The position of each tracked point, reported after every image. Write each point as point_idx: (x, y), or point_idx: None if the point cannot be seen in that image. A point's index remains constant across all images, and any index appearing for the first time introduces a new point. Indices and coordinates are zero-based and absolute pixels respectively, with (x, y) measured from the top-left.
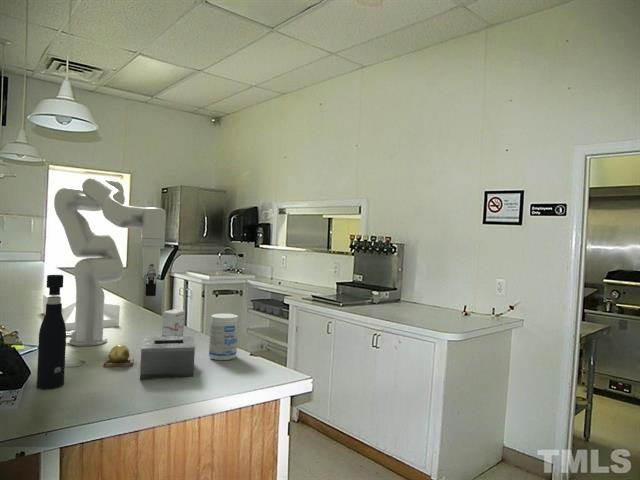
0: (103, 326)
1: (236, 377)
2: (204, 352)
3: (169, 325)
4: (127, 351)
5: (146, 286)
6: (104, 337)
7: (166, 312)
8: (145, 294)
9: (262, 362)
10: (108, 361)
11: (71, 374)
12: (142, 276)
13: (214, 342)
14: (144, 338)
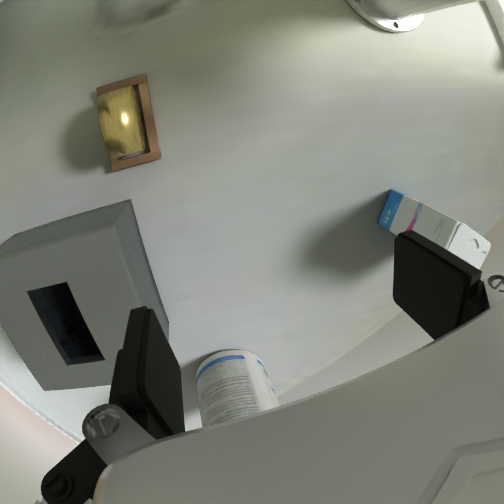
0: (501, 36)
1: (91, 403)
2: (276, 328)
3: (415, 230)
4: (110, 154)
5: (121, 378)
6: (409, 24)
7: (455, 232)
8: (130, 314)
9: None
10: (139, 85)
11: (37, 45)
12: (149, 445)
13: (205, 395)
14: (83, 235)
